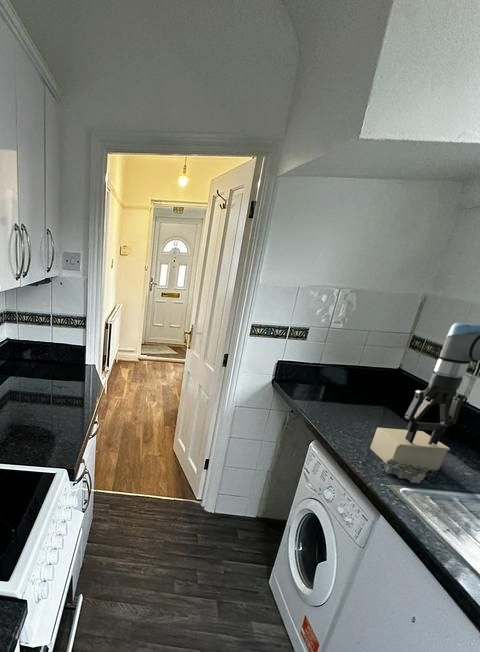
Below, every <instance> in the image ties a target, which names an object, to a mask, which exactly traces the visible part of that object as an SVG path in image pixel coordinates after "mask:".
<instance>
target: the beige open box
mask: <svg viewBox="0 0 480 652" xmlns="http://www.w3.org/2000/svg"><path fill="white" fill-rule="evenodd" d="M369 449H370V450H371V451H372V452H373V453H374V454H375V455H376V456H378V457H379V459H381V460H382V461H383V462H384V463H385V464H386V463H387V460H389V459H393V460H395V461H398V462H403V463H406V464H409V465H411V464H412V465H414V466H417V465H420V466H424V467H426V468H428V471H439V470H440V468H441V466H442V463H443V461H444V459H445V456H446V454H447V452H448V451H447V450H435V449H424V448H413V447H402V446H398V445H397V444H395V443H394V442H393V441H391V440H390V439H389V438H387V437H386V436H385V435H383V434H382V433H381V432H379V431H378V430H377V429H375V433H374V436H373V439H372V441H371V444H370V446H369Z"/></svg>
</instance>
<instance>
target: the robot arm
mask: <svg viewBox="0 0 480 652" xmlns="http://www.w3.org/2000/svg"><path fill="white" fill-rule="evenodd" d="M472 360H476V361H480V324H478V323H472V322H459V321H458V322H454V323H453V324H452V325H451V326H450V328H449V330H448V333H447V335H446V336H445V340H444V342H443V346H442V349H441V352H440V354H439V356H438V358H437V361H436V364H435V366H434V369H433V372H432V374H431V376H430V379H429V381H428V386H427V388H425V389H424V390H420V389H416V390H415V391H414V397H413V399H412V401H411V403H410V404H409V406H408V409H407V411H406V412H405V414H404V419H405V420H407V421H408V424H407V426H406V430H407V431H408V433H407V435H406V438H405V439H406V440H408V441H409V442H413V439H414V436H415V434H416V431H418V430H419V429H418V426H419V424H418V423H417V422H420V420H421V419H422V417H424V415H425V414H426V413H427V412H428V411H429V410H430V409H431V407H433V406H434V405H436V404H439V422H436V424H440V425H441V429H440V430H438V431H437V432H436V435H435V437H434V440H433V442H432V443H433V444H437V443H438V441H439V442H440V439H441V436H442V435H444V434H445V432H446V430H447V428H449V427H451V426H452V425H456V424H457V420H458V417H459V413H460V410H461V407H462V403H463V402H464V400H465V399H466V395H465V394H462V393H460V392H457V391H458V389H460V386H461V384H462V382H463V377H464V376H466V373H467V370H468V367H469V365H470V363H471V361H472ZM417 429H418V430H417Z"/></svg>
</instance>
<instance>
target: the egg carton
mask: <svg viewBox="0 0 480 652" xmlns="http://www.w3.org/2000/svg"><path fill="white" fill-rule="evenodd" d="M383 471H384V472H385V473H386V474H387V475H388V474H389V475H395V476H397V478H399V479H405V480H408V481H409V482H410V483H411V484H421V482H422V481H424V479H425V477H427V472H428V471H429V470H428V468H426V467H424V466H420V465H417V466H414V465H412V464H411V465H409V464H406V463H403V462H398V461H395V460H393V459H389V460H387V463H385V464H384V468H383Z"/></svg>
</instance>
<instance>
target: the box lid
mask: <svg viewBox="0 0 480 652" xmlns="http://www.w3.org/2000/svg"><path fill="white" fill-rule="evenodd" d="M417 423H418V424H419V426H418V429H417V431H416V434H415V436H414V439H413V442H409V441H408V440H406V439H405V438H406V435H407V433H408V431H407V429H399V428H387V427H376V430H378V431H379V432H381V433H382V434H383V435H385V436H386V437H387V438H389V439H390V440H391V441H393V442H394V443H395V444H397V445H398V446H402V447H413V448H424V449H435V450H447V452H449V451H450V450H451V448H450V447H448V446H447V445H445V444H444V443H442V442H440V440H439V441H438V443H437V444H433V443H432V442H433V440H434V437H435V435H436V432H437V431H438V430H440V429H441V425H440V424H441V423H440V424H437V423H434V422H433V423H432V422H423V421H422V422H420V421H418V422H417ZM423 430H426V431H432V433H431V435H430V434H428V433H426V432H425V431H423Z"/></svg>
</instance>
